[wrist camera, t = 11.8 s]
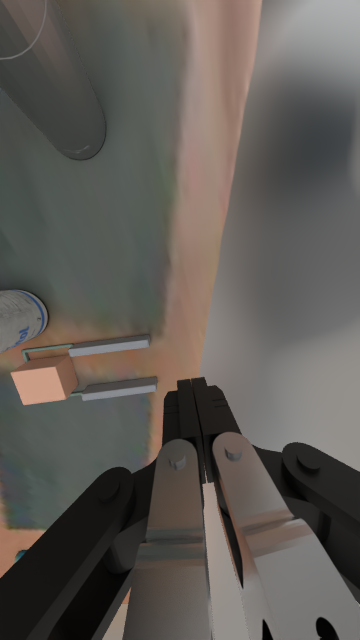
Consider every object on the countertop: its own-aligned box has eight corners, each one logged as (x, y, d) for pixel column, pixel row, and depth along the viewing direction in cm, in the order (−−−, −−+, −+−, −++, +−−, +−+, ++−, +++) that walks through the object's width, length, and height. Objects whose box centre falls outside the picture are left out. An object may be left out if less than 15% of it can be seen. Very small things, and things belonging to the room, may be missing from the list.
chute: (76, 343, 37) (68, 349, 34) (149, 334, 37) (147, 339, 34) (89, 391, 40) (83, 400, 37) (157, 382, 40) (156, 391, 37)
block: (31, 359, 37) (10, 372, 32) (69, 354, 37) (55, 366, 33) (41, 388, 39) (23, 405, 34) (78, 383, 39) (66, 399, 34)
